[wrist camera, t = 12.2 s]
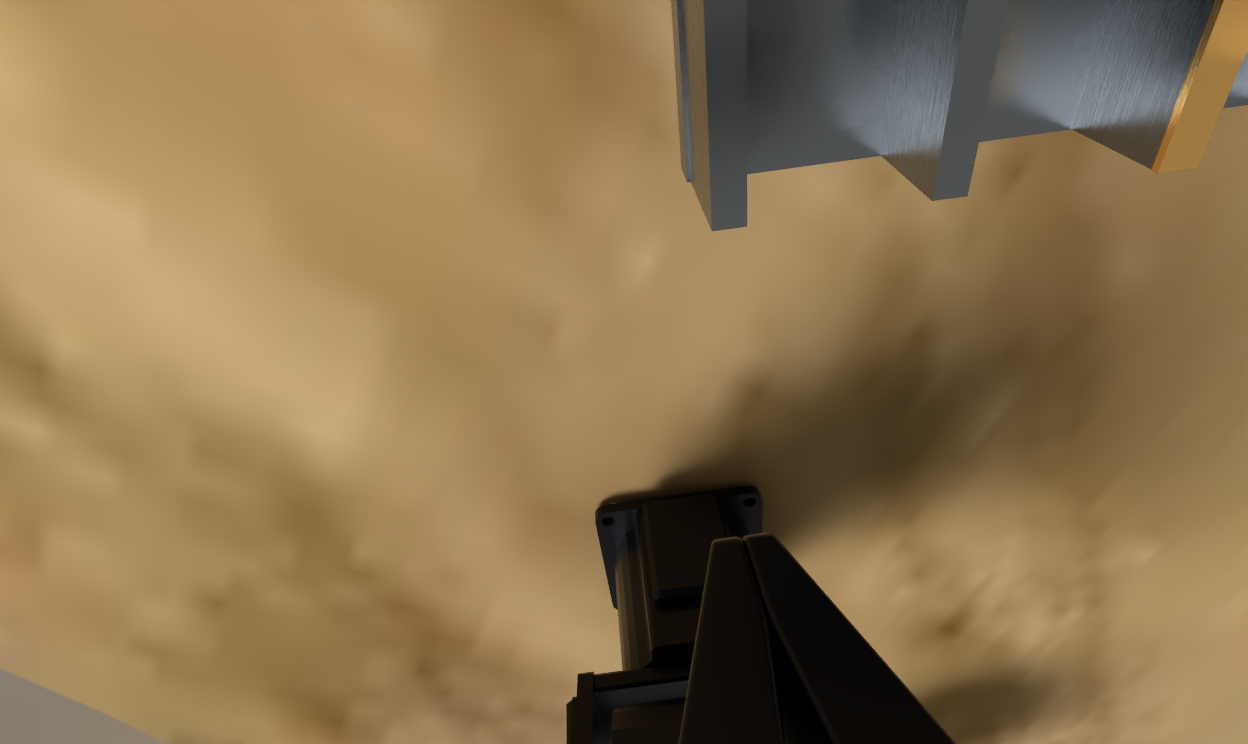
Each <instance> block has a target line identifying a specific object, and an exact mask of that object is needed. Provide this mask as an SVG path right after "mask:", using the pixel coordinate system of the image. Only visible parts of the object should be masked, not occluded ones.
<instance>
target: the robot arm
mask: <svg viewBox="0 0 1248 744" xmlns="http://www.w3.org/2000/svg"><path fill="white" fill-rule="evenodd" d="M747 498H749V499H747ZM606 517H609V518H606ZM595 521H596V527H597V532H598V537H599V541H600V546H601V551H602V556H603V560H604V565H605V570H606V575H607V579H608V584H609V589H610V594H611V598H612V603H613V606H614V608H616V609H617V610H618V617H619V630H620V643H621V656H622V669H623V671H617V672H609V673H601V674H594V672H587V673H580V674H578V683H577V697H573V698H572V701H570V702H569V703H568V704H567V744H956V743H955V742H954V741H953V740H952V738H951V737H950V736H949V735H948V734H947V733H946V732H945V730H944V729H943V728H942V727H941V726H940V725H939V723H938V722H937V721H936V720H935V719H934V718H933V717H932V715H931V714H930V713H929V712H928V711H927V710H926V709H925V707H924V706H923V705H922V704H921V703H920V702H919V701H918V699H917V698H916V697H915V696H914V695H913V694H912V692H911V691H910V690H909V689H908V688H907V687H906V686H905V684H904V683H903V682H902V681H901V680H900V679H899V678H898V676H897V675H896V674H895V673H894V672H893V671H892V670H891V668H890V667H889V666H888V665H887V664H886V663H885V662H884V660H883V659H882V658H881V657H880V656H879V655H878V653H877V652H876V651H875V650H874V649H873V648H872V647H871V645H870V644H869V643H868V642H867V641H866V640H865V639H864V637H863V636H862V635H861V634H860V633H859V632H858V631H857V629H856V628H855V627H854V626H853V625H852V624H851V622H850V621H849V620H848V619H847V618H846V617H845V616H844V614H843V613H842V612H841V611H840V610H839V609H838V608H837V606H836V605H835V604H834V603H833V602H832V601H831V600H830V598H829V597H828V596H827V595H826V594H825V593H824V592H823V590H822V589H821V588H820V587H819V586H818V585H817V583H816V582H815V581H814V580H813V579H812V578H811V577H810V575H809V574H808V573H807V572H806V571H805V570H804V569H803V567H802V566H801V565H800V564H799V563H798V562H797V561H796V559H795V558H794V557H793V556H792V555H791V554H790V552H789V551H788V550H787V549H786V548H785V547H784V546H783V544H782V543H781V542H780V541H779V540H778V539H777V538H776V537H775V536H774V535H773V534H771V533H762V497H761V494H760V491H759V489H758V488H757V487H755V486H742V487H734V488H727V489H719V490H712V491H705V492H697V493H690V494H682V495H675V496H668V497H660V498H653V499H645V500H638V501H631V502H623V503H616V504H608V505H604V506H601V507H599V508H598V509H597V510H596V512H595Z"/></svg>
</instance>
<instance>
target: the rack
mask: <svg viewBox="0 0 1248 744" xmlns="http://www.w3.org/2000/svg"><path fill="white" fill-rule="evenodd" d="M671 3H672V19H673V35H674V51H675V68H676V84H677V100H678V116H679V132H680V149H681V165H682V171H683V173H684V176H685V178H686V180H687V182H691V183H692V185H693V188H694V190H695V192H696V195H697V197H698V200H699V202H700V204H701V207H702V209H703V211H704V214H705V216H706V219H707V221H708V223H709V226H710V228H711V230H712V231H718V230H725V229H732V228H739V227H747V174H752V173H759V172H766V171H773V170H781V169H788V168H795V167H802V166H809V165H817V164H824V163H831V162H838V161H845V160H853V159H860V158H867V157H874V156H882V157H883V158H884V159H885V160H887V161H888V162H889V163H890V164H891V165H892V166H893V167H894V168H896V169H897V170H898V171H899V172H900V173H901V174H902V175H903V176H905V177H906V178H907V179H908V180H909V181H910V182H911V183H913V184H914V185H915V186H916V187H917V188H918V189H919V190H920V191H922V192H923V193H924V194H925V195H926V196H927V197H928V198H929V199H931V200H932V201H935V200H942V199H949V198H957V197H964V196H968V191H969V186H970V181H971V177H972V172H973V167H974V162H975V157H976V153H977V148H978V143H979V142H982V141H990V140H997V139H1004V138H1011V137H1019V136H1026V135H1033V134H1040V133H1047V132H1055V131H1062V130H1069V129H1073V130H1075V131H1077V132H1078V133H1080V134H1082V135H1084V136H1086V137H1088V138H1090V139H1092V140H1094V141H1096V142H1098V143H1100V144H1102V145H1104V146H1106V147H1108V148H1110V149H1112V150H1114V151H1116V152H1118V153H1120V154H1122V155H1124V156H1126V157H1128V158H1130V159H1132V160H1134V161H1136V162H1138V163H1140V164H1142V165H1144V166H1146V167H1148V168H1150V169H1152V170H1151V171H1153V172H1155V173H1157V174H1160V173H1167V172H1175V171H1182V170H1189V169H1196V168H1198V167H1199V164H1200V162H1201V160H1202V157H1203V155H1204V153H1205V150H1206V148H1207V145H1208V143H1209V141H1210V138H1211V136H1212V133H1213V131H1214V129H1215V126H1216V124H1217V121H1218V119H1219V117H1220V114H1221V112H1222V109H1223V108H1228V107H1235V106H1242V105H1248V62H1247V61H1243V59H1244V57H1245V54H1246V52H1247V50H1248V0H671Z"/></svg>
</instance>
